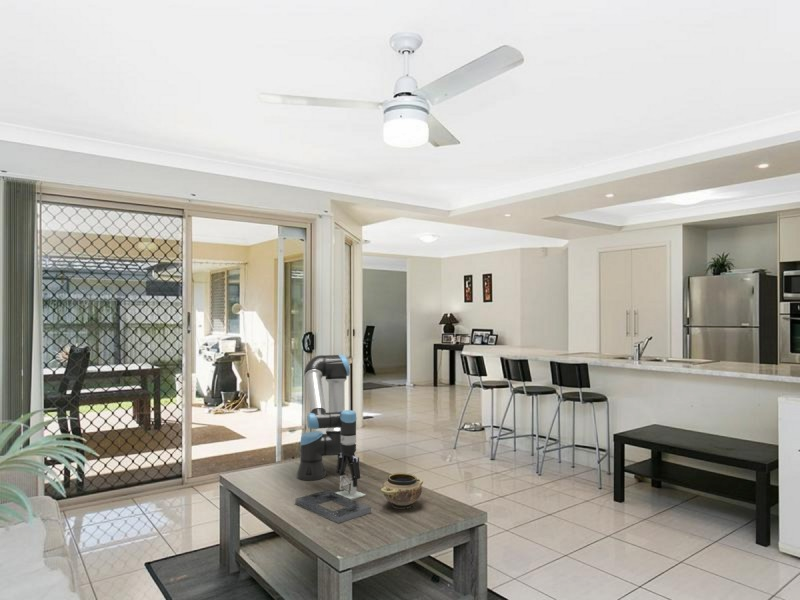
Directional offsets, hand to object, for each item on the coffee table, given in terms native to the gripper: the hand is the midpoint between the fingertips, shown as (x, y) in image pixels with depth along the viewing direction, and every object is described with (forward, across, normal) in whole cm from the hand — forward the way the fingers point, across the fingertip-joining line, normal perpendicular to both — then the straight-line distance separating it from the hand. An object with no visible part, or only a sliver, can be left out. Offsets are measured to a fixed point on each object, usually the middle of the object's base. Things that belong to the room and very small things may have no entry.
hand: (348, 491), depth 260 cm
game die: (0, 0, 0) cm, 0 cm away
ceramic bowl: (+2, +28, +9) cm, 30 cm away
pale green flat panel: (+2, 0, 0) cm, 2 cm away
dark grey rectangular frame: (+2, +9, -16) cm, 19 cm away
